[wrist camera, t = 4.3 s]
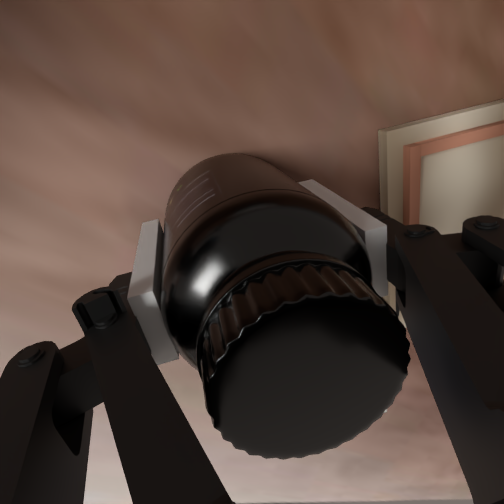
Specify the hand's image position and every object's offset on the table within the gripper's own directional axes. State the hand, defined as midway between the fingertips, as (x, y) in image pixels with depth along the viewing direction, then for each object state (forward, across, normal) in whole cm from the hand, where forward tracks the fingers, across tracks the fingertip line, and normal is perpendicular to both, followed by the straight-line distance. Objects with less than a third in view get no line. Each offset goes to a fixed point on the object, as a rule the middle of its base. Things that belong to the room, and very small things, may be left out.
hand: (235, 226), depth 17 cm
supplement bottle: (+2, 0, 0) cm, 2 cm away
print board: (+2, +15, -4) cm, 16 cm away
